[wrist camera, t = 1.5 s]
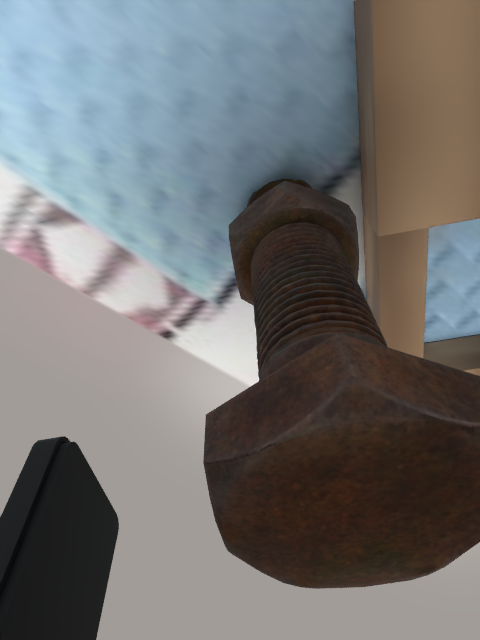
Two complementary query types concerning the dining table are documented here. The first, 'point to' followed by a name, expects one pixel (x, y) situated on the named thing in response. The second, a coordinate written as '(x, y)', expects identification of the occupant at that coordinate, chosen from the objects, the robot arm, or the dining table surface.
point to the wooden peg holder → (416, 155)
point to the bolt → (336, 417)
